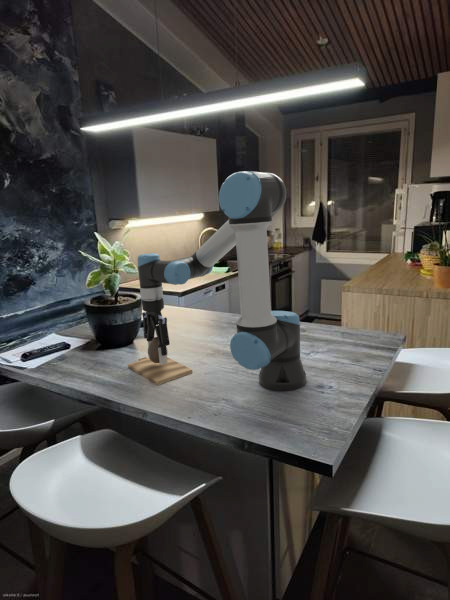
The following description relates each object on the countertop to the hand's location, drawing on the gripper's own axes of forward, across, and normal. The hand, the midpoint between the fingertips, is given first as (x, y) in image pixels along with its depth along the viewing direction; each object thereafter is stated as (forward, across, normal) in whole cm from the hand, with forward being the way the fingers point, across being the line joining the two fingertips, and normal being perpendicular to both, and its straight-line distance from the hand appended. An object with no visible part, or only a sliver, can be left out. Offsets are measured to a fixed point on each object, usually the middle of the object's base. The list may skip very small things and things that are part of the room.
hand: (158, 360), depth 146 cm
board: (+4, +1, 0) cm, 4 cm away
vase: (0, 0, 0) cm, 0 cm away
